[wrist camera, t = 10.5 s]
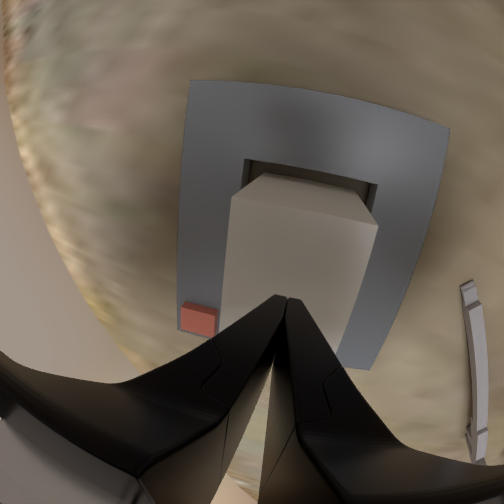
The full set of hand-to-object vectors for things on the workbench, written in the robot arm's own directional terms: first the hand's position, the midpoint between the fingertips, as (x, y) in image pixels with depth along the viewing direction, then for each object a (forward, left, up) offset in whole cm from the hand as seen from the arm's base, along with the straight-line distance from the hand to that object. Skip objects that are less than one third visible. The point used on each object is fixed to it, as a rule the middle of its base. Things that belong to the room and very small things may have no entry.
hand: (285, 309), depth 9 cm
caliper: (-17, +9, -7) cm, 20 cm away
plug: (0, 0, -7) cm, 7 cm away
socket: (0, 0, -7) cm, 7 cm away
